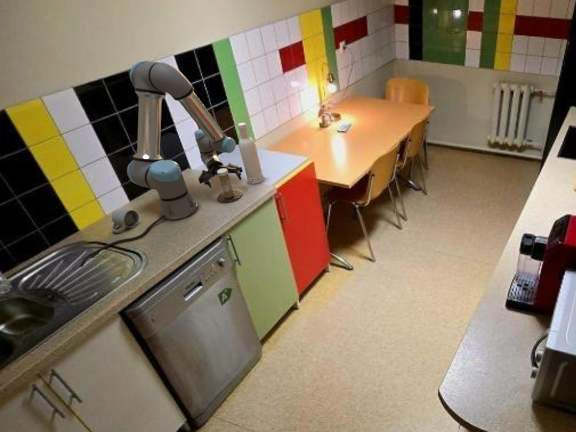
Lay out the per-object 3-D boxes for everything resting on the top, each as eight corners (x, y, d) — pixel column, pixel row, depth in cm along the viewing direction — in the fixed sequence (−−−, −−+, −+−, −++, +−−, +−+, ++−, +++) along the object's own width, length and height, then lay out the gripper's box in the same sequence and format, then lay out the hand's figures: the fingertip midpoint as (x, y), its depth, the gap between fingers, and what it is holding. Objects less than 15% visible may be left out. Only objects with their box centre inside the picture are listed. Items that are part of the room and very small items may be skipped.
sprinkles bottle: (222, 197, 198) (214, 171, 190) (229, 192, 201) (221, 167, 194) (229, 198, 196) (222, 173, 189) (236, 194, 199) (229, 168, 192)
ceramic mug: (127, 219, 187) (120, 204, 182) (142, 221, 184) (135, 206, 180) (108, 232, 178) (100, 217, 174) (123, 235, 176) (115, 220, 172)
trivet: (222, 205, 192) (221, 204, 192) (214, 196, 200) (214, 195, 200) (245, 197, 198) (244, 196, 197) (236, 189, 205) (236, 187, 205)
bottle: (266, 176, 215) (253, 120, 199) (260, 184, 208) (246, 126, 192) (251, 176, 216) (237, 120, 200) (245, 183, 210) (230, 126, 194)
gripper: (241, 165, 215) (253, 180, 200) (190, 179, 205) (199, 196, 189) (237, 152, 211) (249, 166, 196) (185, 165, 201) (194, 181, 185)
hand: (225, 181), depth 193 cm, fingers open, 13 cm apart
